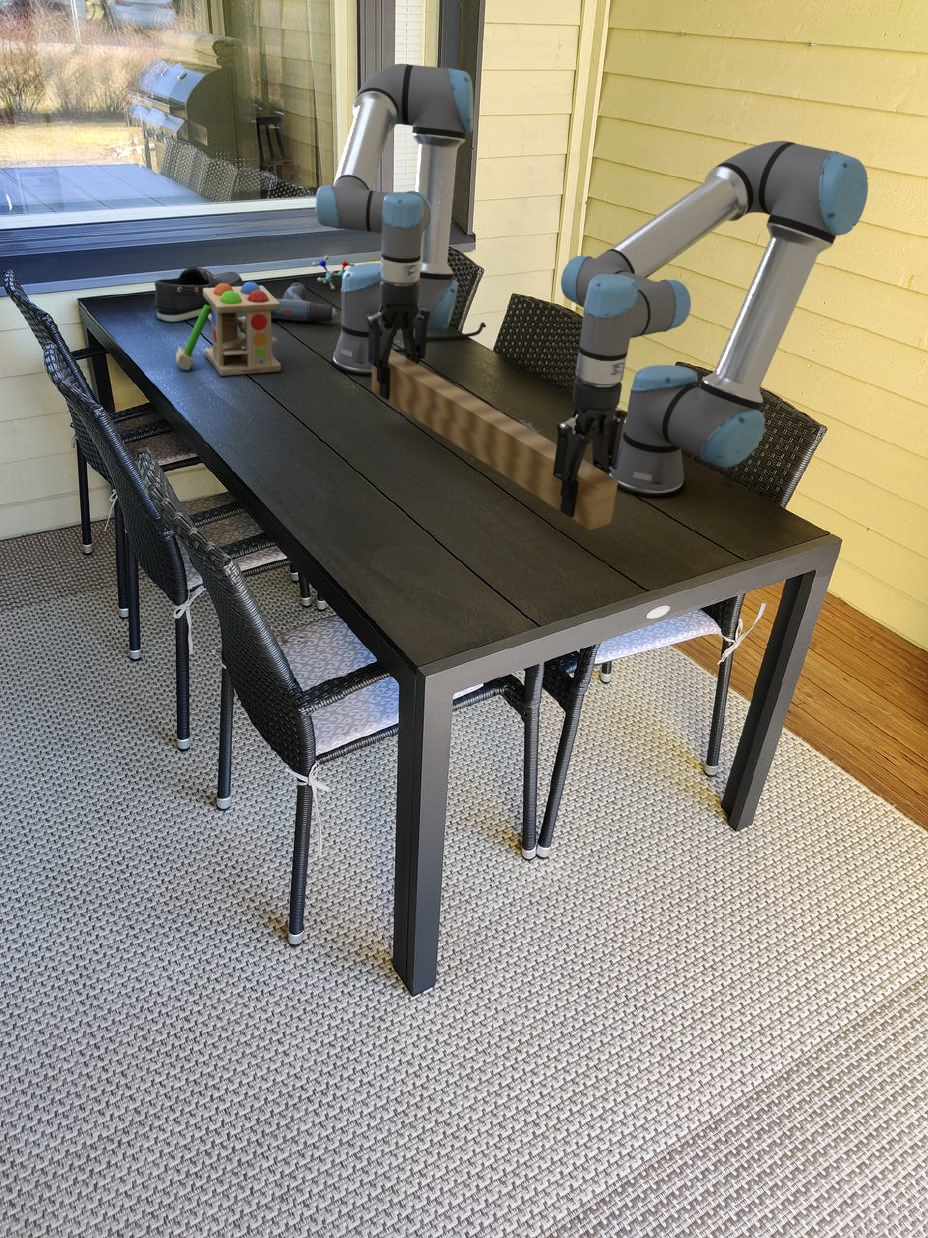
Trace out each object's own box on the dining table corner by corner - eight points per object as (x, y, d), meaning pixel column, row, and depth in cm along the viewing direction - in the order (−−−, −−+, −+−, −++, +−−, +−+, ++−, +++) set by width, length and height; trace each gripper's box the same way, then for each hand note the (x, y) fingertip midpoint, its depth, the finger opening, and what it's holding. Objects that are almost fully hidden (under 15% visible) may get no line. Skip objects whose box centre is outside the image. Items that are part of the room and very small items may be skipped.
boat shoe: (262, 300, 274) (260, 262, 268) (174, 323, 250) (170, 282, 245) (229, 292, 279) (226, 254, 274) (139, 314, 256) (134, 273, 250)
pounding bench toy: (183, 379, 220) (176, 299, 210) (169, 357, 231) (162, 280, 221) (282, 371, 230) (280, 294, 220) (264, 350, 240) (262, 276, 230)
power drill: (344, 304, 276) (335, 327, 259) (277, 298, 275) (264, 321, 258) (344, 285, 273) (335, 306, 256) (277, 279, 272) (264, 300, 255)
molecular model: (345, 281, 281) (333, 247, 280) (317, 294, 285) (306, 260, 284) (362, 284, 292) (350, 251, 291) (335, 296, 296) (324, 263, 294)
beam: (371, 390, 205) (372, 352, 200) (390, 386, 207) (391, 349, 203) (590, 530, 163) (597, 486, 158) (610, 523, 165) (618, 479, 160)
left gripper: (370, 291, 182) (367, 409, 195) (449, 280, 191) (441, 394, 204) (349, 279, 187) (348, 395, 200) (427, 270, 196) (421, 381, 209)
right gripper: (572, 397, 147) (554, 532, 160) (655, 377, 156) (631, 506, 169) (540, 380, 151) (524, 513, 165) (622, 361, 161) (601, 488, 174)
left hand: (395, 394), depth 202 cm, fingers closed on beam, 5 cm apart
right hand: (578, 509), depth 167 cm, fingers closed on beam, 5 cm apart
